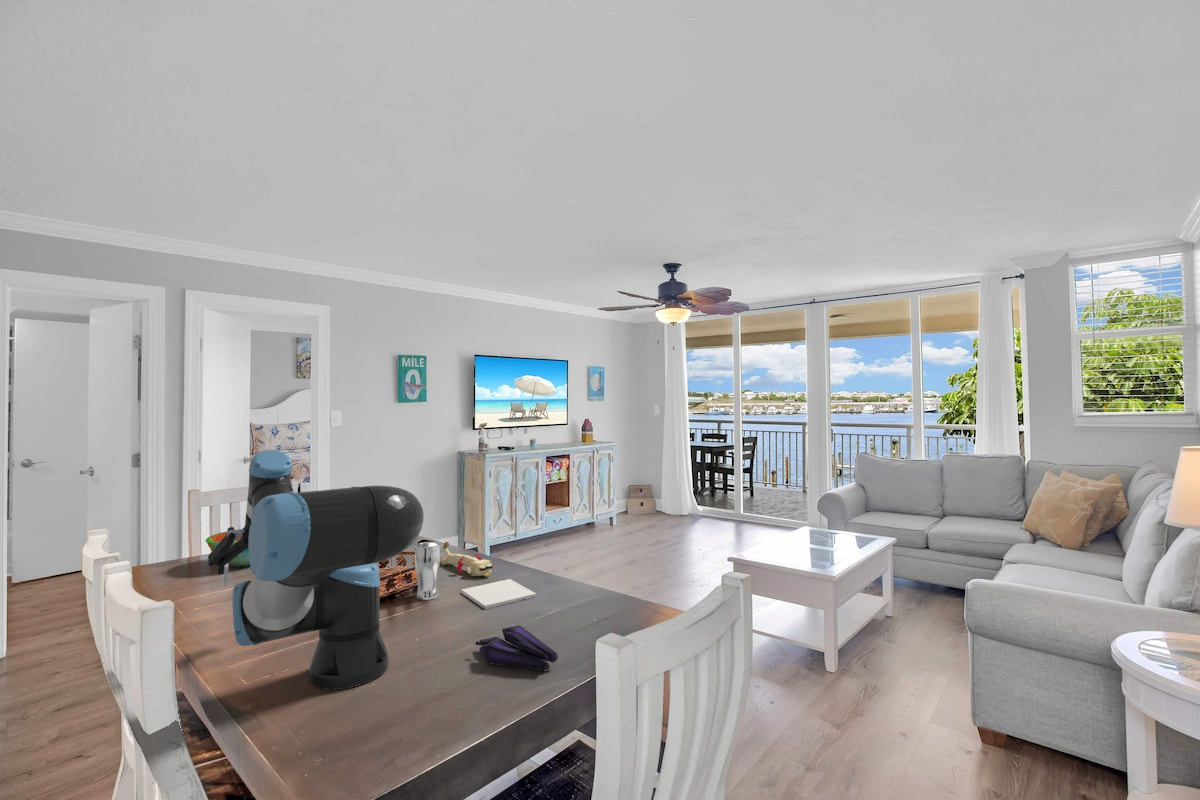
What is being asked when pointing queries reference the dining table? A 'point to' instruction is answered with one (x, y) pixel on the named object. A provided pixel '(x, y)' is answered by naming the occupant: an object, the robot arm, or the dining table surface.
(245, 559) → the bowl
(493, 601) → the mat
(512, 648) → the crystal
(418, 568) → the silver tall cylinder
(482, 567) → the cream toy animal
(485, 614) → the dining table surface
